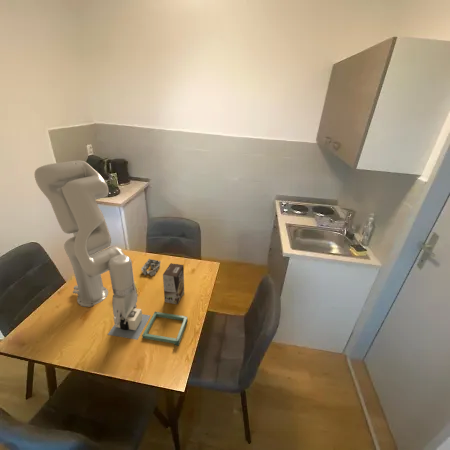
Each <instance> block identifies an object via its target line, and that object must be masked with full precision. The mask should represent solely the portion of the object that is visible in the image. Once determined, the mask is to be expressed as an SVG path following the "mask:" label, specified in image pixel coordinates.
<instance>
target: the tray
mask: <svg viewBox="0 0 450 450" xmlns="http://www.w3.org/2000/svg"><path fill="white" fill-rule="evenodd" d="M157 317H158V318H163V319H171V320H176V321H182V323H181V324H180V329H179V330H178V334H177V335H176V337H169V336H163V335H157V334H152V333H149V332H150V330H151V328H152V326H153V324H154V323H155V320H156V318H157ZM147 323H148V324H146V326H145V328H144V329H145V330H143V333H142V334H141V338H142V339H145V340H151V341H152V340H153V341H158V342H164V343H168V344H169V343H170V344H173V346H177V347H179V345H180V342H181V340H182V337H183V334H184V332H185V329H186V326H187V324H188V316H185V315H179V314H172V313H167V312H160V311H154V313H153V315H151V317H150V320H149V322H147Z"/></svg>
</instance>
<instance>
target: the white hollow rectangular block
mask: <svg viewBox="0 0 450 450" xmlns="http://www.w3.org/2000/svg"><path fill="white" fill-rule="evenodd" d="M131 312H134V313H135V314H134V316H131V317H127V322H128V326H129V329H131V330H136V329H137V327H138V325H139V324H140V322H141V320H142V314H143V311H142V308H137V307H136V308H133V309H132V311H131ZM115 320H116V317H114V316H113V322H114V325H115V327H119V328H120V324H119V325H117V324H115ZM121 320H124V318H122V317H121Z"/></svg>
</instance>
